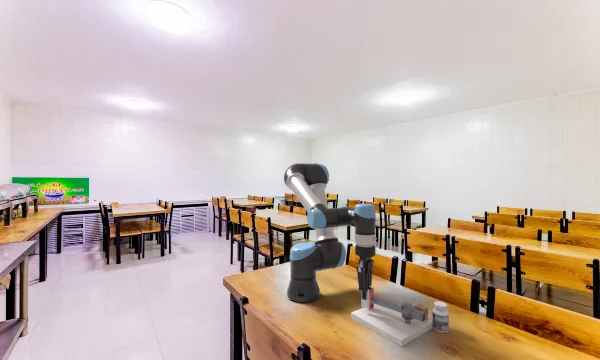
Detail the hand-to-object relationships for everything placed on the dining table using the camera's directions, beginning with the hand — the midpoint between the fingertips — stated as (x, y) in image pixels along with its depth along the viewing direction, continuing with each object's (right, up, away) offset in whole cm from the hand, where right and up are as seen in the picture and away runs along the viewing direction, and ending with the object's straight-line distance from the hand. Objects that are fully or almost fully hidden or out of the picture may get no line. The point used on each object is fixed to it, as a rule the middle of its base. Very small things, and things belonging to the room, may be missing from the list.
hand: (365, 306), depth 103 cm
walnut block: (+19, -2, -4) cm, 20 cm away
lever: (+9, -1, -3) cm, 10 cm away
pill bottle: (+25, -4, -8) cm, 26 cm away
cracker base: (+8, -4, -3) cm, 10 cm away
